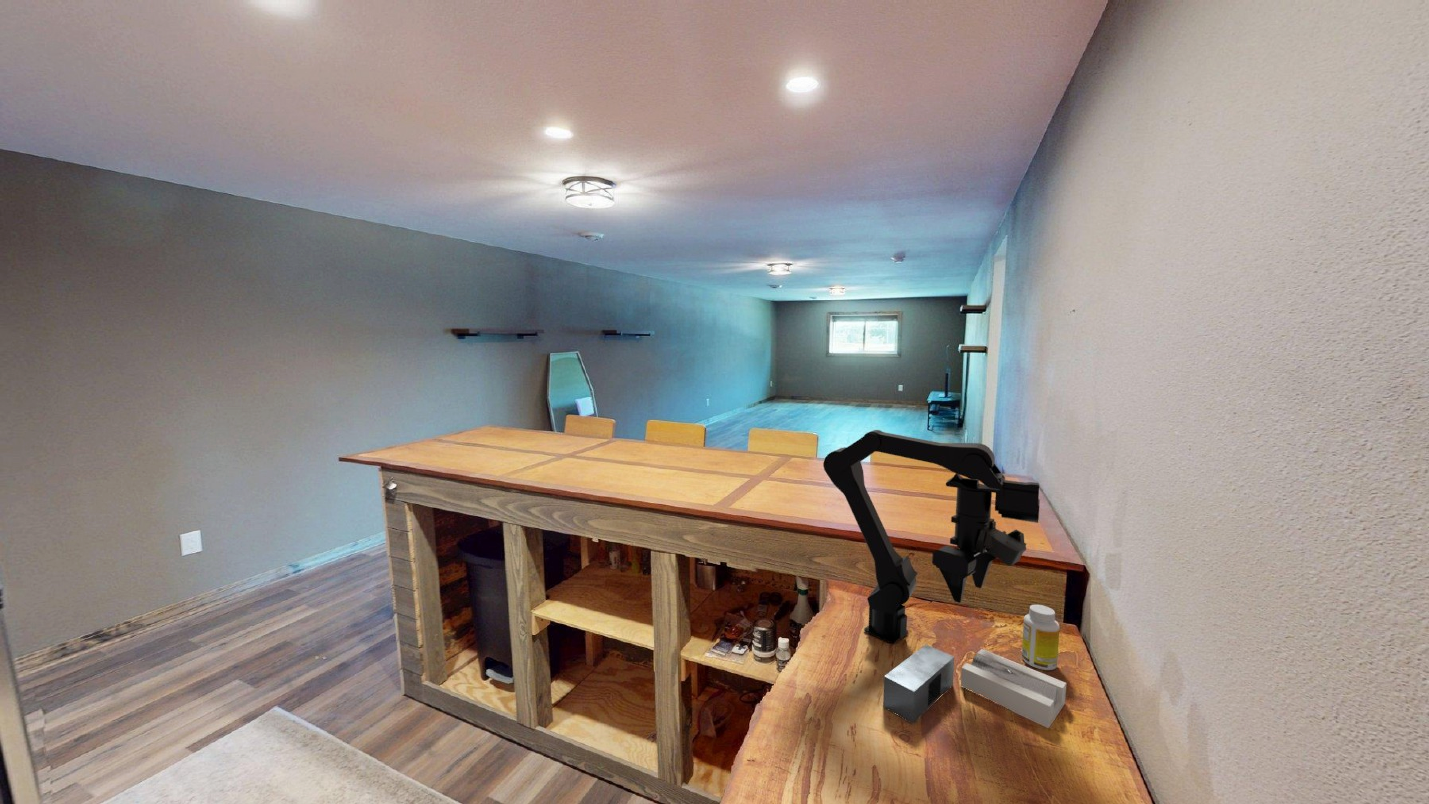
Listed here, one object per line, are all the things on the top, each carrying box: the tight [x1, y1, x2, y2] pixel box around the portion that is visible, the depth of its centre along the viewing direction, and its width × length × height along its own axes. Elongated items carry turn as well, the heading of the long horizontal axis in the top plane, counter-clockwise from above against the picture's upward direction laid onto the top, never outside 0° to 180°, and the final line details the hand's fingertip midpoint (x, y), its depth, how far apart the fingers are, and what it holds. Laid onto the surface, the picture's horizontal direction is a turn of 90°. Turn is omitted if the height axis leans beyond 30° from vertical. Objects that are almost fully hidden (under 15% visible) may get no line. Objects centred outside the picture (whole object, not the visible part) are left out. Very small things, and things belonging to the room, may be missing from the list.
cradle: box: [960, 648, 1067, 729], centre depth 85 cm, size 13×9×4 cm, turn 42°
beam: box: [882, 644, 955, 725], centre depth 84 cm, size 5×14×5 cm, turn 132°
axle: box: [971, 654, 1058, 709], centre depth 85 cm, size 12×3×3 cm, turn 42°
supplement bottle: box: [1021, 604, 1060, 671], centre depth 94 cm, size 6×6×10 cm
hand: (968, 594), depth 95 cm, fingers open, 9 cm apart
